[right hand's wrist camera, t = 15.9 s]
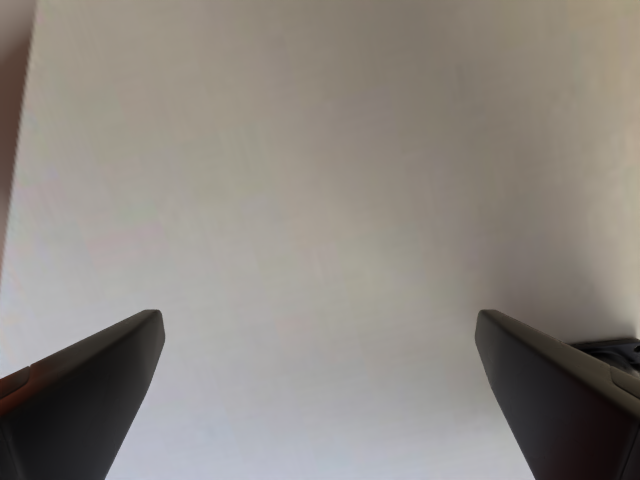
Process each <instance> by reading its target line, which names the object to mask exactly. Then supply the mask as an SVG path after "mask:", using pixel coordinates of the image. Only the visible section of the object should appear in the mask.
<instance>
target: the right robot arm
mask: <svg viewBox="0 0 640 480" xmlns="http://www.w3.org/2000/svg"><path fill="white" fill-rule="evenodd" d="M164 343H165V331H164V325H163V318H162V314H161V312H160V311H159V310H143V311H141V312H139V313H137V314H135V315H133V316H131V317H129V318H127V319H125V320H123V321H120V322H118V323H116V324H114V325H112V326H110V327H108V328H106V329H104V330H102V331H100V332H98V333H96V334H94V335H91V336H89V337H87V338H85V339H83V340H81V341H79V342H77V343H75V344H73V345H71V346H69V347H67V348H65V349H62V350H60V351H58V352H56V353H54V354H52V355H50V356H48V357H46V358H44V359H42V360H40V361H38V362H36V363H33V364H31V365H30V367H29V366H27V367H25V368H23V369H21V370H19V371H17V372H15V373H13V374H10V375H8V376H6V377H4V378H2V379H0V480H105V478H106V476H107V473H108V471H109V469H110V467H111V465H112V463H113V461H114V459H115V457H116V455H117V453H118V451H119V449H120V447H121V445H122V443H123V441H124V438H125V436H126V434H127V432H128V430H129V428H130V426H131V424H132V422H133V420H134V418H135V416H136V414H137V412H138V410H139V408H140V405H141V403H142V401H143V399H144V397H145V395H146V393H147V391H148V388H149V386H150V383H151V380H152V377H153V375H154V372H155V369H156V366H157V363H158V360H159V357H160V354H161V352H162V349H163V346H164ZM475 343H476V346H477V349H478V352H479V354H480V357H481V360H482V363H483V366H484V369H485V372H486V375H487V377H488V380H489V383H490V386H491V388H492V391H493V393H494V395H495V397H496V399H497V401H498V403H499V405H500V408H501V410H502V412H503V414H504V416H505V418H506V420H507V422H508V424H509V426H510V428H511V430H512V432H513V434H514V436H515V438H516V441H517V443H518V445H519V447H520V449H521V451H522V453H523V455H524V457H525V459H526V461H527V463H528V465H529V467H530V469H531V471H532V473H533V476H534V478H535V480H640V340H639V339H627V340H617V341H607V342H598V343H588V344H578V345H567V344H565V343H563V342H561V341H559V340H557V339H555V338H553V337H551V336H549V335H546V334H544V333H542V332H540V331H538V330H536V329H534V328H532V327H530V326H528V325H526V324H524V323H522V322H520V321H517V320H515V319H513V318H511V317H509V316H507V315H505V314H503V313H501V312H499V311H497V310H481V311H480V312H479V314H478V318H477V325H476V331H475ZM636 346H637V347H636ZM635 347H636V348H635Z"/></svg>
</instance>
